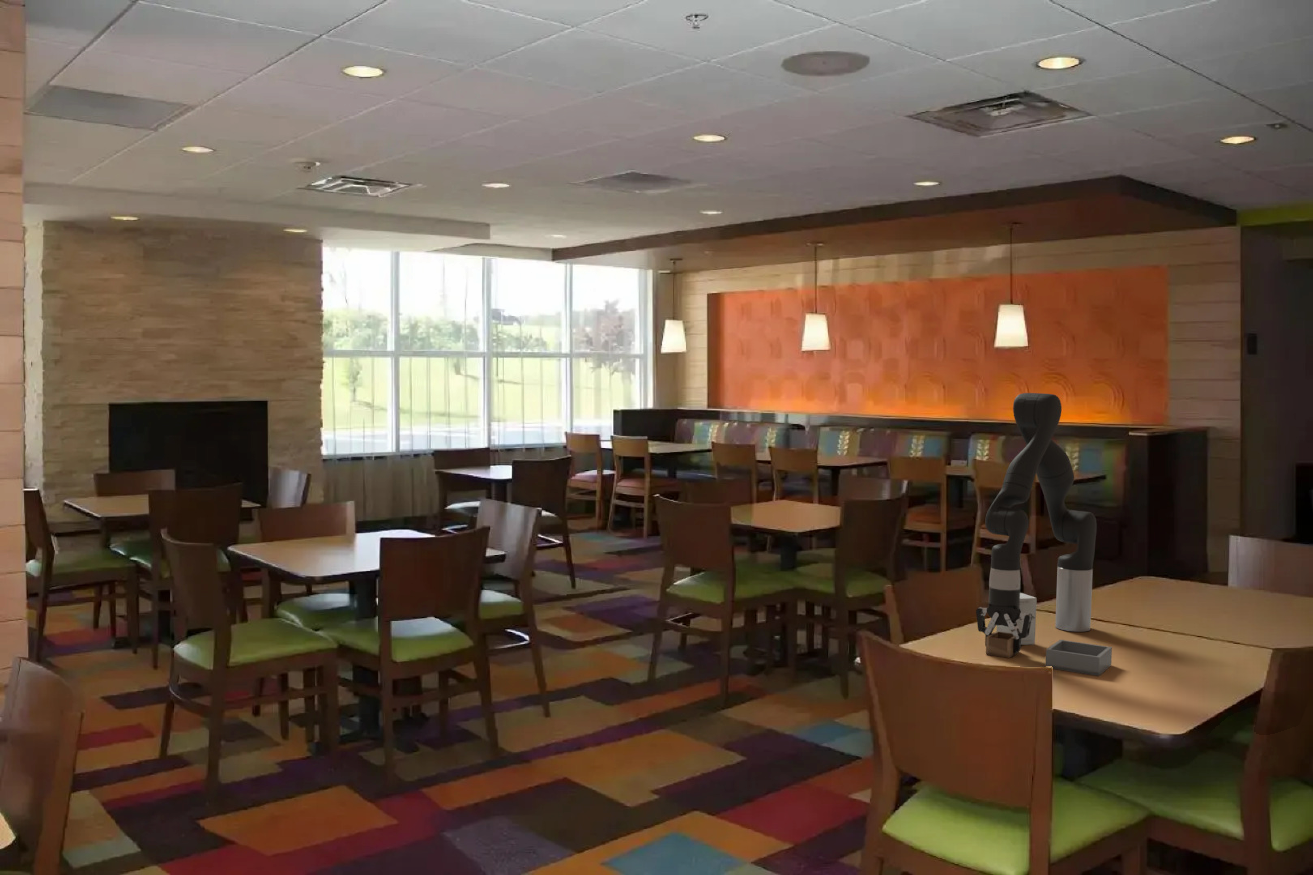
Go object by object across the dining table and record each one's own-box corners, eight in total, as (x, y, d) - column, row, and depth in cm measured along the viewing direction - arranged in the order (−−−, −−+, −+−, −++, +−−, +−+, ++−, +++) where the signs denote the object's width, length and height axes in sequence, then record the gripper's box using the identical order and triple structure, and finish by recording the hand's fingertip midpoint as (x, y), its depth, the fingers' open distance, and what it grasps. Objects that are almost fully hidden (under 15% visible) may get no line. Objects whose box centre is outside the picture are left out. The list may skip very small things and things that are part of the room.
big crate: (1059, 657, 281) (1060, 639, 281) (1111, 665, 274) (1111, 647, 274) (1045, 667, 271) (1046, 649, 271) (1098, 676, 264) (1099, 657, 263)
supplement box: (1011, 646, 292) (1012, 598, 291) (995, 639, 299) (997, 593, 298) (1035, 644, 294) (1037, 597, 293) (1019, 638, 301) (1021, 592, 300)
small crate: (996, 648, 289) (996, 631, 289) (1019, 651, 286) (1019, 634, 285) (985, 654, 283) (986, 637, 282) (1009, 658, 279) (1010, 640, 279)
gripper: (1037, 587, 282) (1035, 652, 283) (981, 580, 290) (979, 643, 291) (1028, 591, 276) (1026, 658, 277) (971, 584, 284) (969, 649, 285)
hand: (1002, 650), depth 284 cm, fingers closed on small crate, 6 cm apart
